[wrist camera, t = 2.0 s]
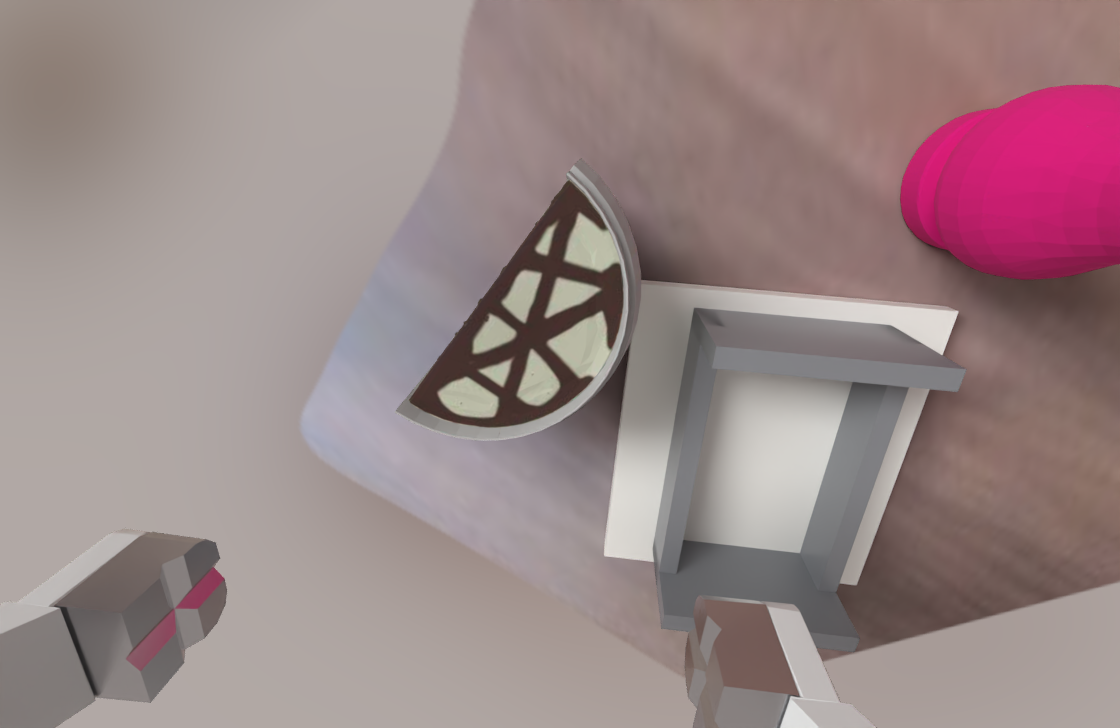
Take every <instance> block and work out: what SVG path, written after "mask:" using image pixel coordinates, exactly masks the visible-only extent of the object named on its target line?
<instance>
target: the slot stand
mask: <svg viewBox="0 0 1120 728" xmlns="http://www.w3.org/2000/svg"><path fill="white" fill-rule="evenodd" d="M958 312H959V311H956V310H954V309H952V308H950V307H947V306H938V305H927V304H915V303H904V302H892V301H881V300H869V299H857V298H846V297H834V296H823V295H811V294H800V293H788V292H777V291H765V290H753V289H742V288H730V287H719V286H707V285H696V284H684V283H672V282H661V281H649V280H641V301H640V307H639V314H638V320H637V324H636V327H635V330H634V333H633V336H632V339H631V342H630V345H629V353H628V361H627V369H626V377H625V385H624V392H623V400H622V408H621V416H620V424H619V432H618V440H617V448H616V456H615V463H614V471H613V479H612V487H611V495H610V503H609V511H608V519H607V526H606V534H605V542H604V556H608V557H617V558H625V559H634V560H643V561H651V562H654V567H655V576H656V585H657V594H658V603H659V611H660V620H661V629H669V630H677V631H686V632H690V631H692V630H693V629H694V628H695V627H696V626H695V621H694V616H693V610H694V606H695V601H696V599H697V597H698V596H699V595H706V596H716V597H726V598H735V599H745V600H755V601H760V602H762V601H766V602H776V603H786V604H794V605H795V606H796V607H797V608H798V609H799V610H800V612H801V615H802V617H803V619H804V621H805V624H806V626H807V628H808V630H809V633H810V635H811V637H812V639H813V641H814V644H815V646H816V648H824V649H832V650H840V651H848V652H855V650H856V647H857V644H858V642H859V639H860V638H859V636H858V634H857V632H856V630H855V628H854V626H853V624H852V622H851V620H850V619H849V617H848V615H847V613H846V611H845V609H844V607H843V605H842V603H841V601H840V600H839V598H838V596H837V594H836V591H837V588H838V586H839V583H840V584H849V585H857V583H858V580H859V577H860V575H861V572H862V569H863V567H864V564H865V561H866V559H867V556H868V553H869V551H870V548H871V545H872V543H873V540H874V537H875V534H876V532H877V529H878V526H879V524H880V521H881V518H882V516H883V513H884V510H885V508H886V505H887V502H888V500H889V497H890V494H891V492H892V489H893V486H894V484H895V481H896V478H897V476H898V473H899V470H900V468H901V465H902V462H903V459H904V457H905V454H906V451H907V449H908V446H909V443H910V441H911V438H912V435H913V433H914V430H915V427H916V425H917V422H918V419H919V417H920V414H921V411H922V409H923V406H924V403H925V401H926V398H927V395H928V393H929V390H930V389H933V390H943V391H954V392H958V390H959V387H960V385H961V382H962V380H963V377H964V375H965V372H966V370H967V369H965V368H963V367H961V366H960V365H958V364H956V363H955V362H953V361H951V360H950V359H948V358H946V357H944V356H943V352H944V350H945V347H946V344H947V342H948V339H949V336H950V334H951V331H952V328H953V326H954V323H955V320H956V318H957V315H958Z"/></svg>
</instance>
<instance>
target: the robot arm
mask: <svg viewBox="0 0 1120 728" xmlns="http://www.w3.org/2000/svg"><path fill="white" fill-rule="evenodd" d="M219 559H220V556H219V553H218V549H217V546H216V543H215V542H212V541H209V540H206V539H200V538H193V537H185V536H178V535H171V534H164V533H157V532H145V531H138V530H131V529H122V530H118V531H115V532H112V533H110V534H109V535H107V536H106V537H105V538H103V539H102V540H100V541H99V542H98V543H96V544H95V545H94V546H92V547H91V548H90V549H88V550H87V551H86V552H84V553H83V554H82V555H80V556H79V557H78V558H77V559H75V560H74V561H72V562H71V563H70V564H68V565H67V566H66V567H64V568H63V569H62V570H60V571H59V572H57V573H56V574H55V575H53V576H52V577H51V578H50V579H48V580H47V581H45V582H44V583H43V584H41V585H40V586H39V587H37V588H36V589H35V590H33V591H32V592H31V593H29V594H28V595H26V596H25V597H24V598H22V599H21V600H20V601H18V602H5V603H2V604H0V728H55V727H56V726H58V725H60V724H61V723H63V722H64V721H65V720H67V719H69V718H70V717H72V716H73V715H75V714H76V713H78V712H79V711H81V710H82V709H84V708H85V707H87V706H88V705H90V704H91V703H93V702H94V701H95V697H97V698H107V699H117V700H129V701H138V702H149V703H151V701H152V700H153V699H154V698H155V697H156V696H157V694H158V693H159V692H160V691H161V690H162V688H163V687H164V686H165V685H166V684H167V683H168V681H169V680H170V679H171V678H172V677H173V675H174V674H175V673H176V672H177V671H178V670H179V668H180V667H181V666H182V665H183V664H184V658H185V649H187V648H188V647H190V646H192V645H194V644H196V643H197V642H199V641H201V640H202V639H204V638H205V637H206V636H207V635H208V634H209V632H210V631H211V630H212V629H213V627H214V626H215V625H216V624H217V622H218V620H219V618H220V615H221V613H222V611H223V609H224V606H225V603H226V595H227V588H226V583H225V579H224V578H223V577H222V576H221V574H220V573H219V572H218V571H217V570H216V569H215V568H214V566H215V565H216V563H217V562H218V561H219ZM693 616H694V621H695V626H696V627H695V628H694V629H693V630H692V631H690V632H689V633H688V638H687V643H686V649H685V678H686V686H687V693H688V698H689V699H690V700H691V702H692V703H693V704H694V705H695V707H696V708H697V711H696V715H695V719H694V723H693V728H877V727H876V726H875V725H873V724H872V723H871V722H870V721H869V720H868V719H867V718H866V717H865V716H864V715H863V714H862V713H861V712H859V711H858V710H857V709H856V708H855V707H854V706H853V705H852V704H848V703H841V702H840V699H839V697H838V695H837V693H836V691H835V688H834V686H833V684H832V682H831V679H830V677H829V675H828V673H827V670H826V668H825V666H824V664H823V662H822V659H821V657H820V655H819V653H818V650H817V648H816V646H815V644H814V641H813V639H812V637H811V635H810V633H809V630H808V628H807V626H806V624H805V621H804V619H803V617H802V615H801V612H800V610H799V609H798V608H797V607H796V606H795V605H794V604H786V603H776V602H766V601H762V602H760V601H755V600H745V599H735V598H726V597H716V596H706V595H699V596H698V597H697V599H696V601H695V606H694V610H693Z"/></svg>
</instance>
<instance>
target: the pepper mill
mask: <svg viewBox="0 0 1120 728" xmlns="http://www.w3.org/2000/svg"><path fill="white" fill-rule="evenodd" d="M900 201H901V208H902V214H903V217H904V219H905V222H906V223H907V225H908V227H909V228H910V229H911V230H912V232H913V233H914V234H915V235H916V236H917V237H918V238H919V239H921V240H922V241H924V242H925V243H928V244H930V245H932V246H935V247H938V248H942V249H945V250H949V251H950V252H951V253H952V254H953V255H954V256H955V257H956V258H958V259H959V260H960V261H961V262H963V263H964V264H965V265H967V266H969V267H971V268H973V269H976V270H978V271H981V272H983V273H987V274H992V275H996V276H1002V277H1007V278H1015V279H1022V280H1025V279H1047V278H1060V277H1066V276H1073V275H1077V274H1081V273H1085V272H1088V271H1092V270H1096V269H1100V268H1104V267H1108V266H1112V265H1116V264H1120V88H1118V87H1113V86H1108V85H1066V86H1058V87H1049V88H1046V89H1042V90H1039V91H1035V92H1031V93H1029V94H1026V95H1024V96H1021V97H1019V98H1017V99H1014V100H1012V101H1010V102H1008V103H1006V104H1004V105H1003V106H1001V107H999V108H995V109H987V110H981V111H976V112H972V113H969V114H966V115H963V116H961V117H958V118H955V119H954V120H952V121H950V122H949V123H947V124H945V125H944V126H942V127H941V128H939V129H938V130H937V131H936V132H934V133H933V134H932V135H931V136H930V137H928V139H927V140H926V141H925V142H924V143H923V144H922V145H921V146H920V147H919V149H918V150H917V151H916V153H915V155H914V156H913V158H912V159H911V161H910V163H909V165H908V167H907V170H906V172H905V174H904V177H903V181H902V186H901V198H900Z"/></svg>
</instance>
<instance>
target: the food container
mask: <svg viewBox="0 0 1120 728" xmlns="http://www.w3.org/2000/svg"><path fill="white" fill-rule="evenodd" d="M566 176H567V182H566V184H565V185H564V186H563V188H562V189H561V191H560V192H559V193H558V194H557V195H556V196H555V197H554V199H553V200H552V202H551V205H550V206H549V208H548V209H547V210H546V212H545V213H544V214H543V216H542V217H541V219H540V220H539V221H537V222H536V223H535V227H534V228H533V230H532V231H531V232H530V234H529V235H528V236H527V238H526V239H525V241H524V242H523V243H522V245H521V246H520V248H519V249H518V250H517V252H516V253H515V255H514V256H513V257H512V259H511V260H510V262H509V263H508V265H507V266H505V267H504V268H503V269H502V271H501V273H500V276H499V277H498V278H497V280H496V281H495V282H494V284H493V285H492V286H491V288H490V289H489V291H488V292H487V293H486V294H485V296H484V297H483V298H482V299H480V300H479V302H478V306H477V307H476V308H475V310H474V311H473V313H472V314H471V315H470V317H469V318H468V320H467V321H465V322H464V325H463V326H462V328H461V329H460V330H459V332H457V333H456V334H455V335H456V336H455V337H454V338H453V340H452V341H451V342H450V344H449V345H448V346H447V348H446V349H445V350H444V352H443V353H442V354H441V356H439V358H438V359H437V361H436V362H435V364H434V365H433V366H432V367H431V369H430V370H429V371H428V372H427V373H426V375H425V376H424V377H423V378H422V379H421V381H420V382H419V383H418V384H417V385H416V387H415V388H414V389H413V390H412V392H411V393H410V394H409V395H408V396H407V398H406V399H405V400H404V401H403V402H402V404H401V405H400V406H399V407H398V408H397V410H396V411H395V413H397V414H398V415H400V416H402V417H403V418H405V419H407V420H409V421H410V422H412V423H414V424H416V425H419V426H421V427H423V428H426V429H428V430H431V431H433V432H436V433H440V434H444V435H447V436H451V437H454V438H462V439H469V440H504V439H511V438H518V437H522V436H525V435H529V434H532V433H535V432H539V431H541V430H543V429H546V428H548V427H550V426H552V425H554V424H557V423H559V422H561V421H563V420H565V419H566V418H568V417H569V416H571V415H572V414H574V413H575V412H577V411H578V410H580V409H581V408H583V407H584V406H585V405H586V404H587V403H588V402H589V401H590V400H591V399H592V398H593V397H594V396H596V395H597V394H598V393H599V392H600V390H601V389H602V388H603V386H604V385H605V384H606V383H607V381H608V380H609V379H610V377H611V376H612V375H613V373H614V372H615V370H616V368H617V367H618V365H619V363H620V361H621V360H622V358H623V356H624V354H625V352H626V350H627V348H628V346H629V344H630V342H631V339H632V336H633V333H634V330H635V327H636V324H637V320H638V314H639V307H640V301H641V270H640V264H639V258H638V251H637V246H636V243H635V240H634V237H633V234H632V231H631V228H630V225H629V222H628V220H627V219H626V217H625V215H624V213H623V211H622V209H621V207H620V205H619V203H618V201H617V199H616V198H615V196H614V195H613V194H612V192H611V191H610V190H609V188H608V187H607V186H606V184H605V183H604V182H603V180H602V179H601V178H600V176H599V175H598V174H597V173H596V172H595V171H594V170H593V169H592V168H591V167H590V166H589V165H588V164H587V163H586V162H585V161H584V160H583V159H582V158H581V159H580V160H579V161H578V162H577V163H576V164H575V165H574V166H573V167H572V169H571V170H570V171H569V172H568V173H567V174H566Z"/></svg>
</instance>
